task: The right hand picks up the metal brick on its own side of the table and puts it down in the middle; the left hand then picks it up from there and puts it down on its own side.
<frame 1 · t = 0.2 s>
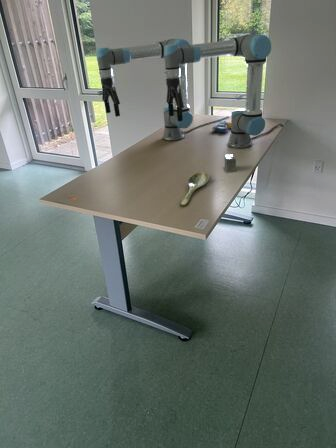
left hand: (113, 114, 206), 28 cm above the table, tool pointing down, fingers open, 13 cm apart
right hand: (175, 118, 187), 28 cm above the table, tool pointing down, fingers open, 13 cm apart
spoon: (193, 190, 170), on the table
spray gun: (224, 129, 257), on the table
brick: (229, 169, 190), on the table
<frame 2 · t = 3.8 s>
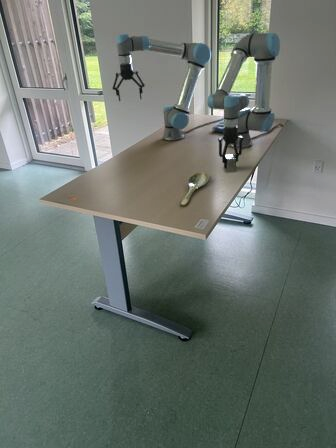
left hand: (130, 99, 214), 33 cm above the table, tool pointing down, fingers open, 13 cm apart
right hand: (229, 167, 189), 1 cm above the table, tool pointing down, fingers closed on brick, 5 cm apart
brick: (229, 169, 190), on the table, touching right hand
everything else where it was.
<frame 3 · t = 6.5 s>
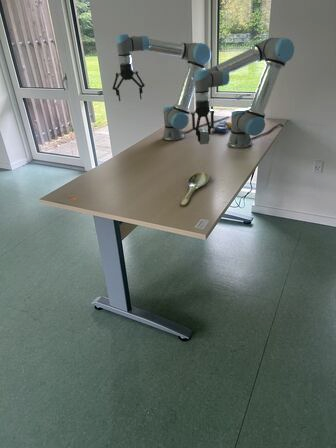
left hand: (130, 99, 214), 33 cm above the table, tool pointing down, fingers open, 13 cm apart
right hand: (203, 140, 200), 12 cm above the table, tool pointing down, fingers closed on brick, 5 cm apart
brick: (203, 142, 200), point 11 cm above the table, touching right hand
everything else where it was.
when the right hand's fingers open (3 cm above the table, at t = 9.2 s): brick drops 2 cm, on the table.
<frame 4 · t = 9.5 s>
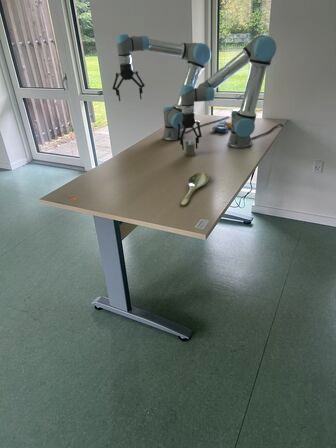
left hand: (130, 99, 214), 33 cm above the table, tool pointing down, fingers open, 13 cm apart
right hand: (189, 148, 214), 4 cm above the table, tool pointing down, fingers open, 8 cm apart
brick: (190, 154, 216), on the table
everything else where it was.
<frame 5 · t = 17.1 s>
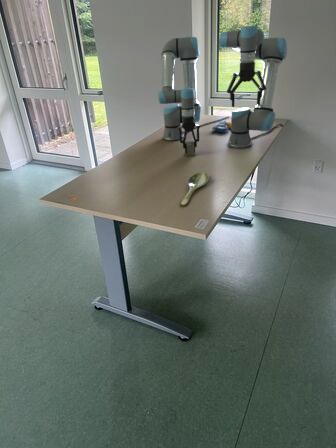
left hand: (190, 152, 215), 1 cm above the table, tool pointing down, fingers closed on brick, 5 cm apart
right hand: (245, 105, 179), 33 cm above the table, tool pointing down, fingers open, 13 cm apart
brick: (190, 154, 216), on the table, touching left hand
everything else where it was.
when the left hand's fingers open (3 cm above the table, at t = 24.3 s): brick drops 2 cm, on the table.
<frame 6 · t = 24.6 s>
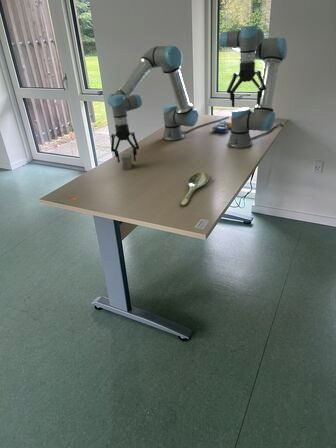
left hand: (127, 161, 203), 4 cm above the table, tool pointing down, fingers open, 9 cm apart
right hand: (245, 105, 179), 33 cm above the table, tool pointing down, fingers open, 13 cm apart
brick: (128, 167, 205), on the table
everything else where it was.
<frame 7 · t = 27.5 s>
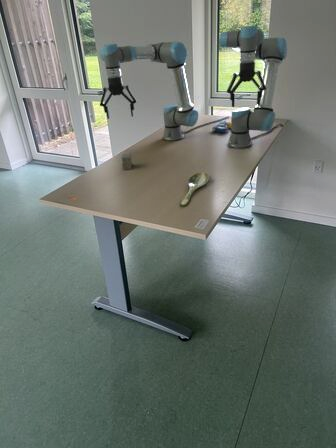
left hand: (120, 117, 189), 30 cm above the table, tool pointing down, fingers open, 13 cm apart
right hand: (245, 105, 179), 33 cm above the table, tool pointing down, fingers open, 13 cm apart
nothing on the table moved.
at the end: brick inside the target area (0.1 cm from its centre), on the table; brick tilted 0°; the two hands never held the brick at the same time; the left hand is holding nothing; the right hand is holding nothing; brick at rest at the end (0.0 cm/s) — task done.
